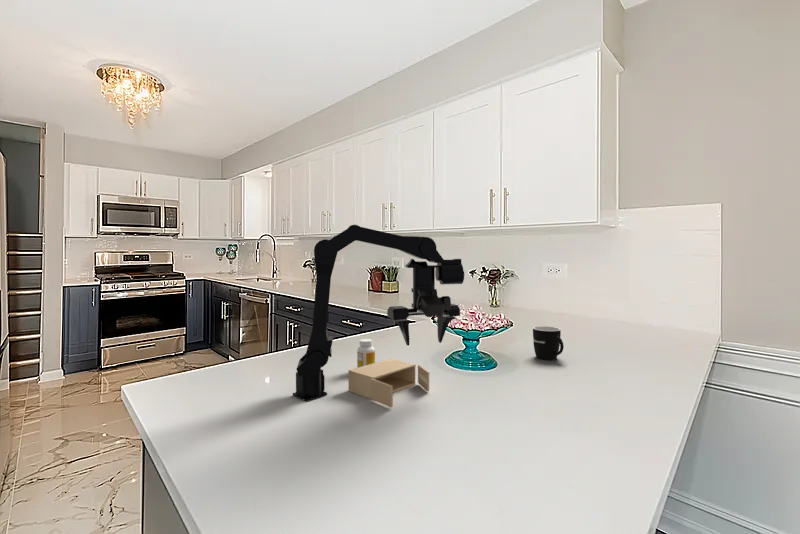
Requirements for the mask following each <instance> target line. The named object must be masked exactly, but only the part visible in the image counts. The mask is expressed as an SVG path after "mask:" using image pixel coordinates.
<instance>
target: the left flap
mask: <svg viewBox="0 0 800 534" xmlns="http://www.w3.org/2000/svg"><path fill="white" fill-rule="evenodd" d="M393 393H394V392H393V386H391V385H389V384H386V383H383V382H380V381H378V380H375V379H371V398H370V400H371V401H375V402H377V403H380V404H382V405H384V406H387V407H389V408H393V407H394V405H393V403H394V402H393V401H394V399H393V397H394V394H393Z"/></svg>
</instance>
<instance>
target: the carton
mask: <svg viewBox="0 0 800 534" xmlns="http://www.w3.org/2000/svg"><path fill="white" fill-rule="evenodd" d="M347 371H348V373H347V374H348V376H347V377H348V378H347V379H348V392H350V393H354V394H357V395H359V396H362V397H365V398H368V399H371V379H375V380H378V381H380V382H383V383H386V384H389V385H391V386H393V393H396V392H399V391H401V390H404V389H407V388H409V387H412V386H415V385H416V384H417V383H416V364H414V363H410V362H407V361H403V360H397V359H394V358H388V359H385V360H381V361H376V362H375V363H373V364H369V365H366V366H362V367H358V368H357V367H355V368H351V369H348V370H347Z"/></svg>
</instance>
